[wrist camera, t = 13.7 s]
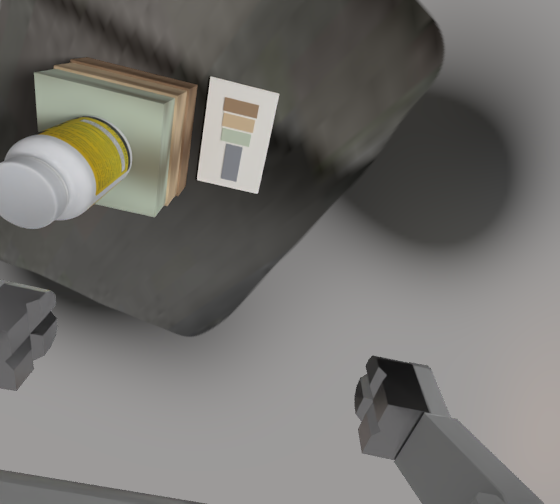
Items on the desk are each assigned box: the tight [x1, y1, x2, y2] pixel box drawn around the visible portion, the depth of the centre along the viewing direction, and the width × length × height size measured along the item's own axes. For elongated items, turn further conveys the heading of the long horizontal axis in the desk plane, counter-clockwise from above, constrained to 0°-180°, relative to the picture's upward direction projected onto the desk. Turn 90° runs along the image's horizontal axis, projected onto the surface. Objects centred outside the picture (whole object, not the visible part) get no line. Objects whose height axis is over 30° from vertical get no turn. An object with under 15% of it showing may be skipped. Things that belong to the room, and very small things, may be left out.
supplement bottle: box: [0, 115, 132, 229], centre depth 26 cm, size 5×5×10 cm
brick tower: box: [34, 57, 197, 217], centre depth 34 cm, size 10×10×9 cm
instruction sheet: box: [197, 76, 279, 194], centre depth 38 cm, size 10×6×1 cm, turn 167°
